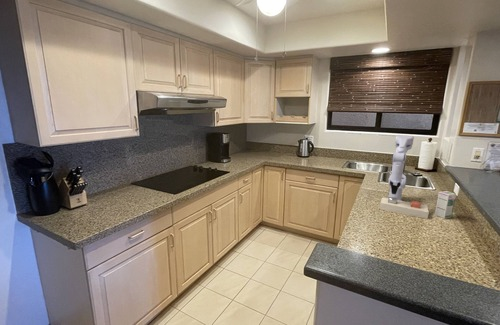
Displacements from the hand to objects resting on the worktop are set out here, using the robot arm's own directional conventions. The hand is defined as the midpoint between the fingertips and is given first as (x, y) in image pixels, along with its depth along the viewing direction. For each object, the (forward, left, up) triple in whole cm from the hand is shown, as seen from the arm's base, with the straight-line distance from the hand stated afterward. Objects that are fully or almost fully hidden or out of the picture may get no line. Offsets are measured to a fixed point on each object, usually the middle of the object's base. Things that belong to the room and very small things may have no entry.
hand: (393, 193), depth 150 cm
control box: (0, +6, -9) cm, 11 cm away
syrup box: (-4, +26, -10) cm, 28 cm away
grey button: (0, 0, -8) cm, 8 cm away
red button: (0, +12, -8) cm, 14 cm away
